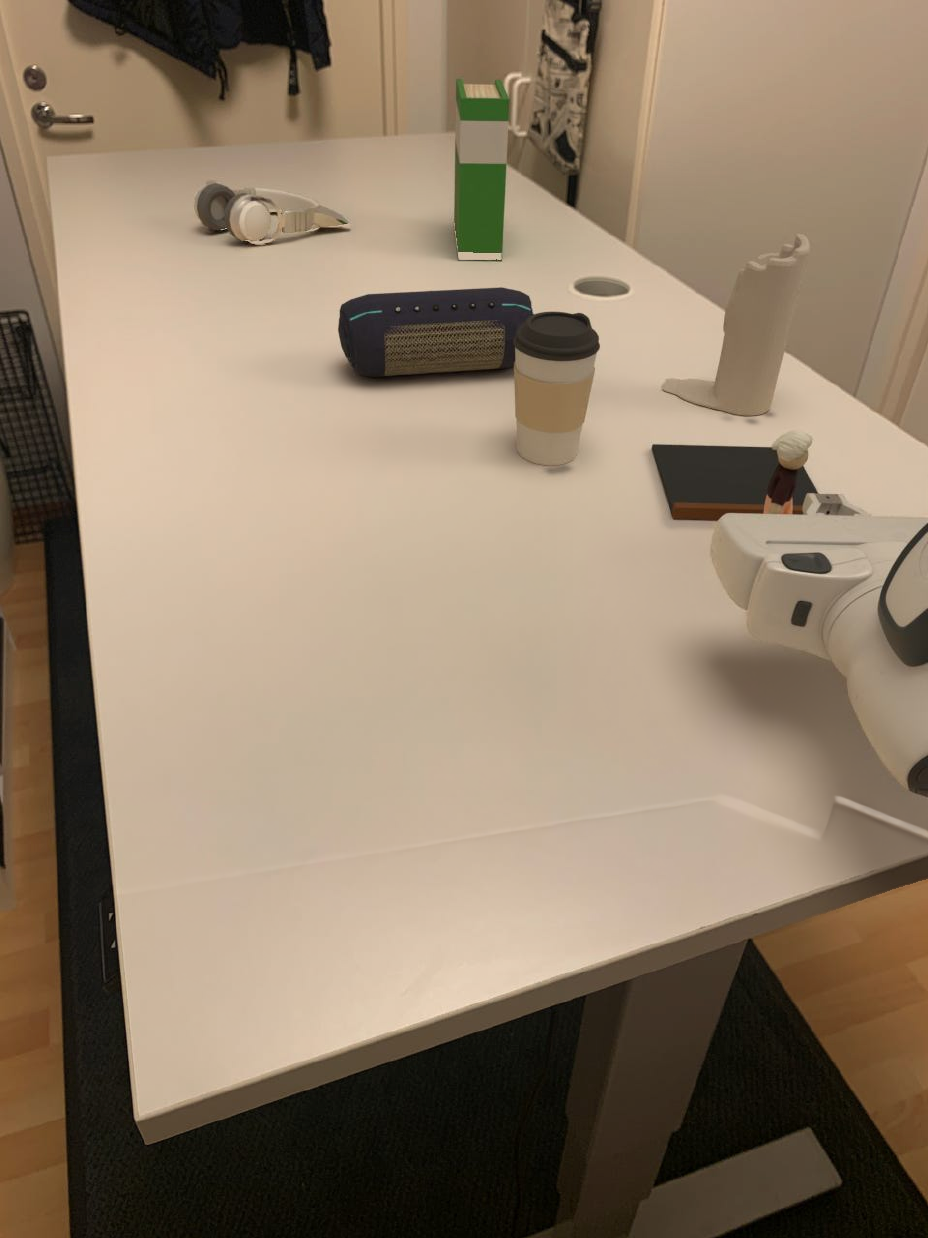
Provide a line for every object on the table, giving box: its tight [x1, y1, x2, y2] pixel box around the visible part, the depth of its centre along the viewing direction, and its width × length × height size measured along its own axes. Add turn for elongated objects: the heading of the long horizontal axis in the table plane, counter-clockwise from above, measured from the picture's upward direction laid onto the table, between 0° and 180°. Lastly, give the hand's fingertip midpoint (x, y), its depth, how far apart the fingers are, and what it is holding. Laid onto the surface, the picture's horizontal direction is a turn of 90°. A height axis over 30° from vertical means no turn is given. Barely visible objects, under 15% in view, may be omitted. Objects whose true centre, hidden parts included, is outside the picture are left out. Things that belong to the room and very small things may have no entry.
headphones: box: [193, 179, 350, 246], centre depth 163 cm, size 22×8×22 cm
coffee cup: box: [513, 311, 601, 466], centre depth 98 cm, size 9×9×15 cm
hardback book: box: [453, 78, 511, 262], centre depth 152 cm, size 18×7×24 cm, turn 3°
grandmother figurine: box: [764, 430, 814, 514], centre depth 84 cm, size 8×4×13 cm, turn 170°
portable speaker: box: [337, 287, 535, 378], centre depth 116 cm, size 25×10×10 cm, turn 102°
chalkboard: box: [651, 443, 819, 521], centre depth 97 cm, size 16×15×1 cm
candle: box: [661, 233, 811, 417], centre depth 108 cm, size 7×14×20 cm, turn 60°
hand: (821, 500), depth 74 cm, fingers closed
